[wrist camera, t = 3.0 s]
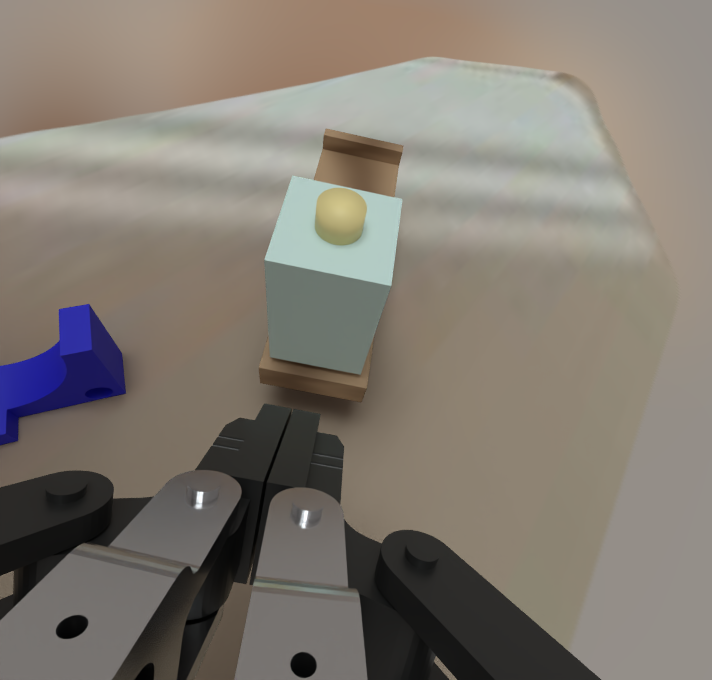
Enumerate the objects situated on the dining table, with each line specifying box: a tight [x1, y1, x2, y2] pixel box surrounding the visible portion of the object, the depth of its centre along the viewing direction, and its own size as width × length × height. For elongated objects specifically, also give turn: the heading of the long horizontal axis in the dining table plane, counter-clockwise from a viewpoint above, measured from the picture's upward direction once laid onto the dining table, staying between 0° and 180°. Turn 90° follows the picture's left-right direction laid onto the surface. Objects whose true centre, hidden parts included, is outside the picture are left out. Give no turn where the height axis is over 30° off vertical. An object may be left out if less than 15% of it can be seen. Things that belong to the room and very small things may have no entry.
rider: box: [264, 176, 402, 375], centre depth 21 cm, size 5×5×9 cm
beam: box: [259, 129, 403, 402], centre depth 31 cm, size 6×20×7 cm, turn 172°
